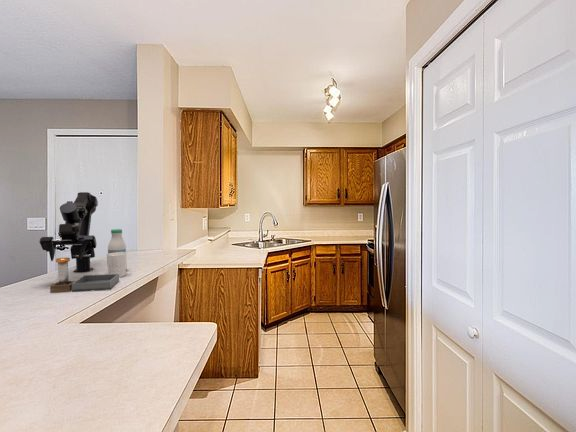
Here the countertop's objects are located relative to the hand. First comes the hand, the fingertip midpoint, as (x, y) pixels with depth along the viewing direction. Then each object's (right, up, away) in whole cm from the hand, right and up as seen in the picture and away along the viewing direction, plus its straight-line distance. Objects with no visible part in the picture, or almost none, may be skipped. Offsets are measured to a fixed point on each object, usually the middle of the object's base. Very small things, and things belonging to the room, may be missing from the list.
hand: (65, 259), depth 129 cm
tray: (+11, -11, +2) cm, 15 cm away
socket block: (+1, -11, -3) cm, 11 cm away
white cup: (+10, -10, +19) cm, 24 cm away
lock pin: (+1, -11, -3) cm, 11 cm away
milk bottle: (+6, -9, +27) cm, 29 cm away
